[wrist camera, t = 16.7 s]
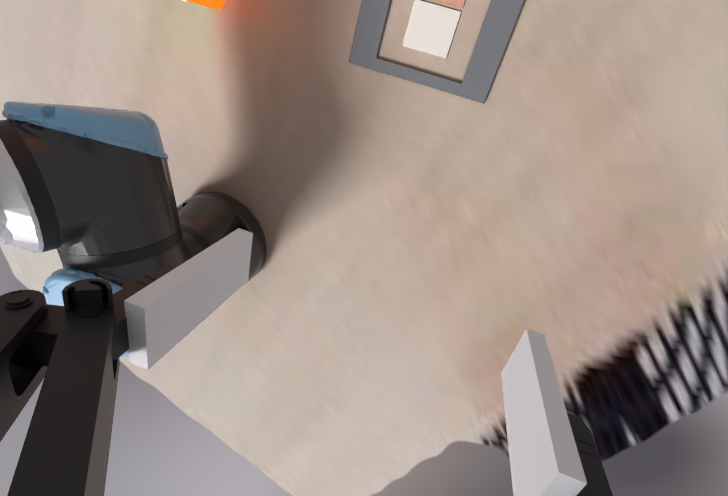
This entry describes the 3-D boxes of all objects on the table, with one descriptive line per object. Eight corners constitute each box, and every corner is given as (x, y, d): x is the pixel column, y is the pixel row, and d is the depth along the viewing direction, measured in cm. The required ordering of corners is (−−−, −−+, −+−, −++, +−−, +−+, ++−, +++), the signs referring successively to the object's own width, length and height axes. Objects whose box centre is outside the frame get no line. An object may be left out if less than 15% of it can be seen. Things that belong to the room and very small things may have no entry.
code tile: (349, 62, 43) (348, 62, 42) (387, -111, 35) (386, -113, 35) (483, 103, 41) (483, 103, 40) (552, -72, 33) (552, -73, 33)
